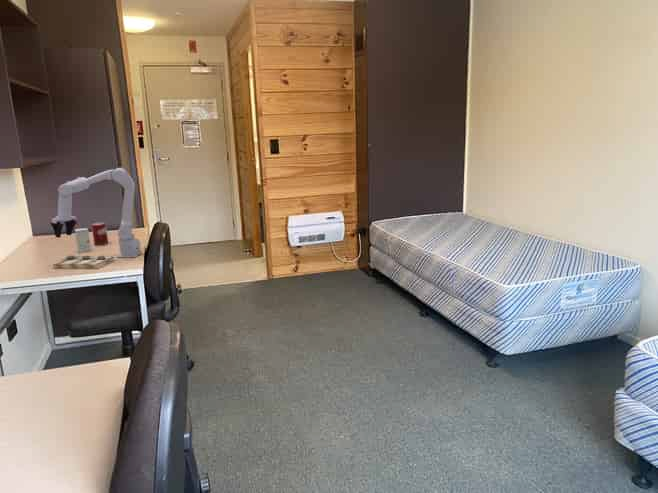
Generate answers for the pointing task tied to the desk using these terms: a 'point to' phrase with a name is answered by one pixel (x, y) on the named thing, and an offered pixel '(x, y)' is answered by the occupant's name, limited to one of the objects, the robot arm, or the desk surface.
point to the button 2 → (101, 257)
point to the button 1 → (70, 257)
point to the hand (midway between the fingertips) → (63, 236)
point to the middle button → (85, 257)
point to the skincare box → (83, 240)
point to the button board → (82, 263)
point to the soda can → (99, 234)
